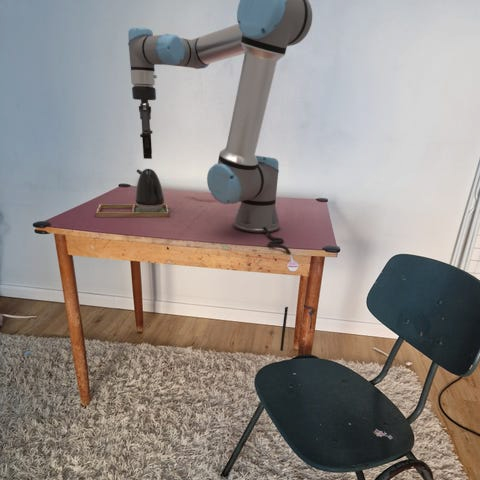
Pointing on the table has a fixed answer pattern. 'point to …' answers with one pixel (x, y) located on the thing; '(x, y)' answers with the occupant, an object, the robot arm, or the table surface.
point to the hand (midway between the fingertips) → (148, 156)
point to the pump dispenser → (149, 192)
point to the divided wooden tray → (130, 214)
